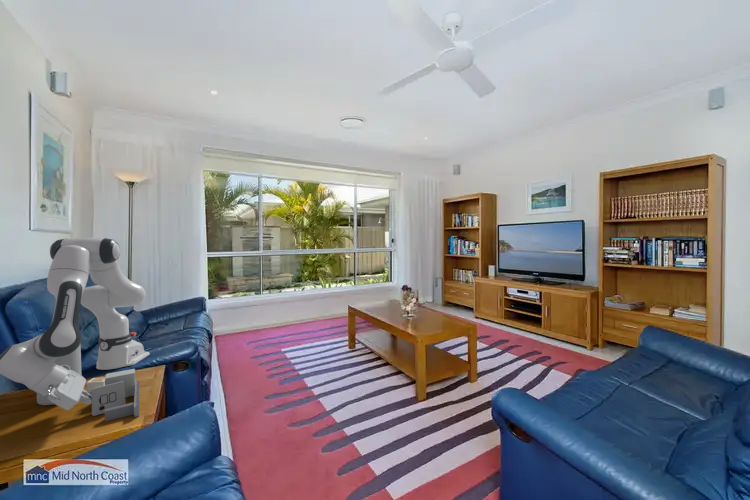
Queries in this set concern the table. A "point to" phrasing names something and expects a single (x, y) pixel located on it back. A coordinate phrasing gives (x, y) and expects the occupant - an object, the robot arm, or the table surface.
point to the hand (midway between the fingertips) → (91, 400)
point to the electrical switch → (107, 397)
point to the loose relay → (95, 383)
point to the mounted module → (124, 376)
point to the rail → (137, 399)
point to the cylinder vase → (74, 363)
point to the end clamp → (119, 411)
